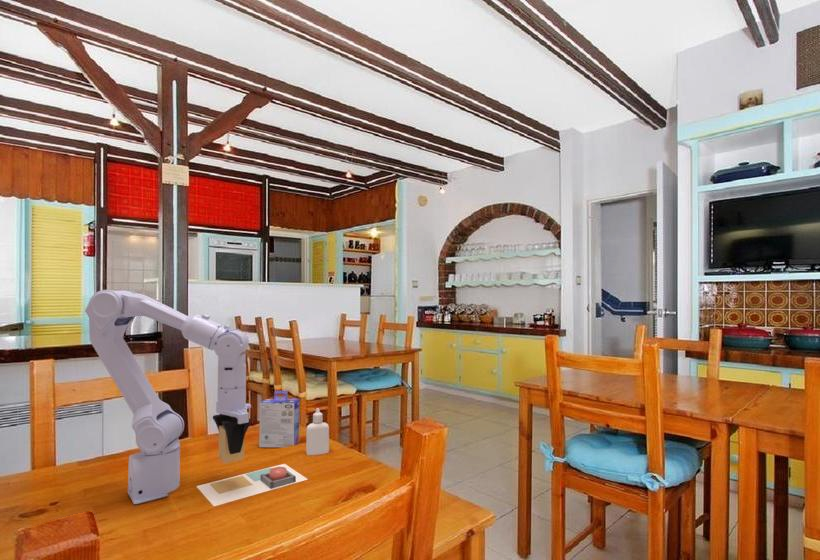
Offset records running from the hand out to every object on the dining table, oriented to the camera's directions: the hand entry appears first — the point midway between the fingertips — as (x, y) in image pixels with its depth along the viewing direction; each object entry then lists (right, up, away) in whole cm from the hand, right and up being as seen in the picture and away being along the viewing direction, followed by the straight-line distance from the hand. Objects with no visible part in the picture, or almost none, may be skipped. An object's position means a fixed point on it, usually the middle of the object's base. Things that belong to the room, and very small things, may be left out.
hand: (231, 450), depth 100 cm
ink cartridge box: (+3, -9, +28) cm, 30 cm away
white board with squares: (+4, -8, +1) cm, 9 cm away
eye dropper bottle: (+15, -9, +20) cm, 26 cm away
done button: (+9, -7, +2) cm, 12 cm away
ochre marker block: (0, -2, 0) cm, 2 cm away
